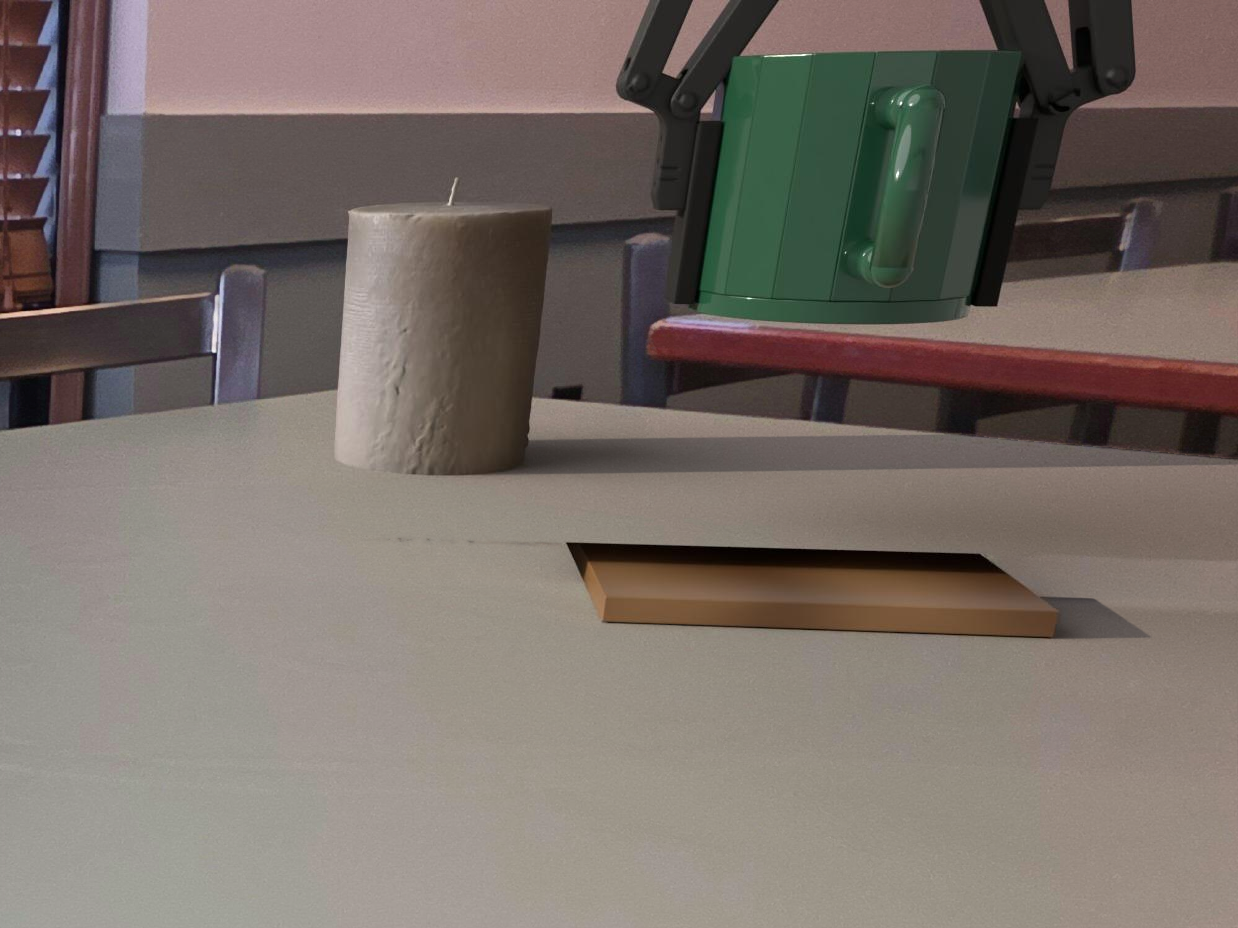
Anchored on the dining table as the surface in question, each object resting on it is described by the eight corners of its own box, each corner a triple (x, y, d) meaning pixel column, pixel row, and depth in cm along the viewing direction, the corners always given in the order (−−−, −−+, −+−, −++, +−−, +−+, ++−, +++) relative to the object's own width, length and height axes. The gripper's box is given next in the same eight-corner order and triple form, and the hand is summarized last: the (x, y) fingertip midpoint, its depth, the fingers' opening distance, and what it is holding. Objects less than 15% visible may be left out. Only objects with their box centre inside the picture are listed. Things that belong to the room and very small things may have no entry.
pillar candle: (548, 488, 90) (586, 174, 84) (481, 522, 83) (517, 181, 77) (373, 471, 95) (396, 173, 89) (296, 501, 88) (315, 180, 82)
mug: (667, 297, 74) (701, 60, 70) (925, 298, 72) (975, 56, 68) (728, 335, 61) (774, 49, 57) (1042, 338, 59) (1111, 44, 56)
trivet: (928, 541, 78) (933, 519, 78) (1053, 637, 64) (1060, 611, 64) (560, 531, 81) (562, 510, 81) (601, 621, 67) (605, 596, 66)
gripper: (613, -399, 57) (532, 309, 67) (1385, -446, 53) (1183, 314, 63) (588, -346, 64) (517, 291, 73) (1273, -384, 60) (1105, 295, 69)
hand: (824, 302), depth 68 cm, fingers closed on mug, 10 cm apart
